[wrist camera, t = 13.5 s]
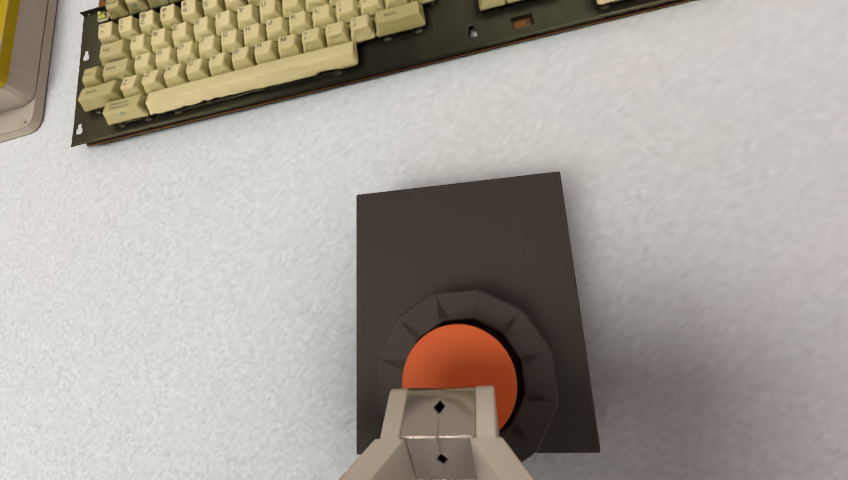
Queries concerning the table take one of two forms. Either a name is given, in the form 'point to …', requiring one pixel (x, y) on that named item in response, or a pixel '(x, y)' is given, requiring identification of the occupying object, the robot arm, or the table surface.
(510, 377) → the push button
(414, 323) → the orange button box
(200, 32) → the keyboard
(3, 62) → the emergency button
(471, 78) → the table surface
